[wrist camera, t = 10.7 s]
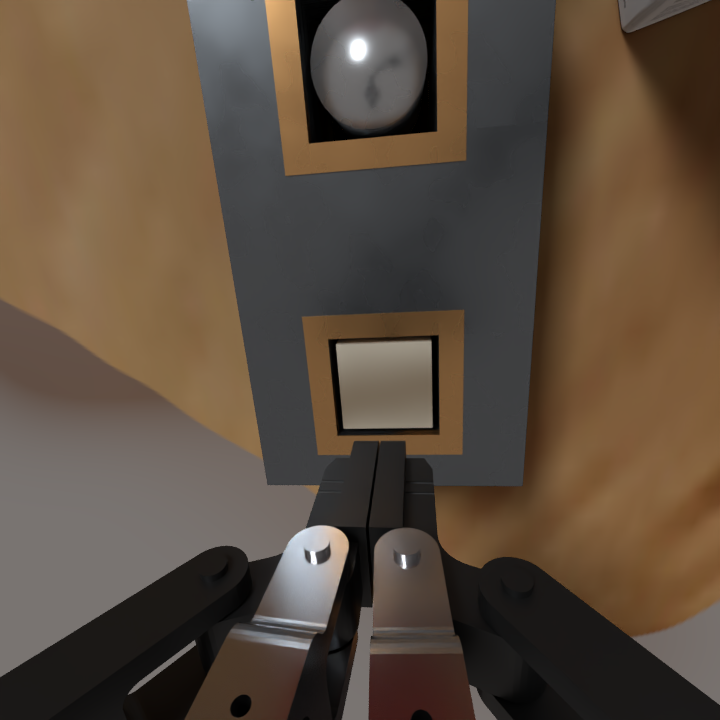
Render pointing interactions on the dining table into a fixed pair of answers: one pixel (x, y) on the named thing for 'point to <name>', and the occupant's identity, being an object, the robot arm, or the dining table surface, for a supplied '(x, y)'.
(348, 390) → the grey rectangular block
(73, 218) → the dining table surface
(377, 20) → the steel peg
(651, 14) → the ink box
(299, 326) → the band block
